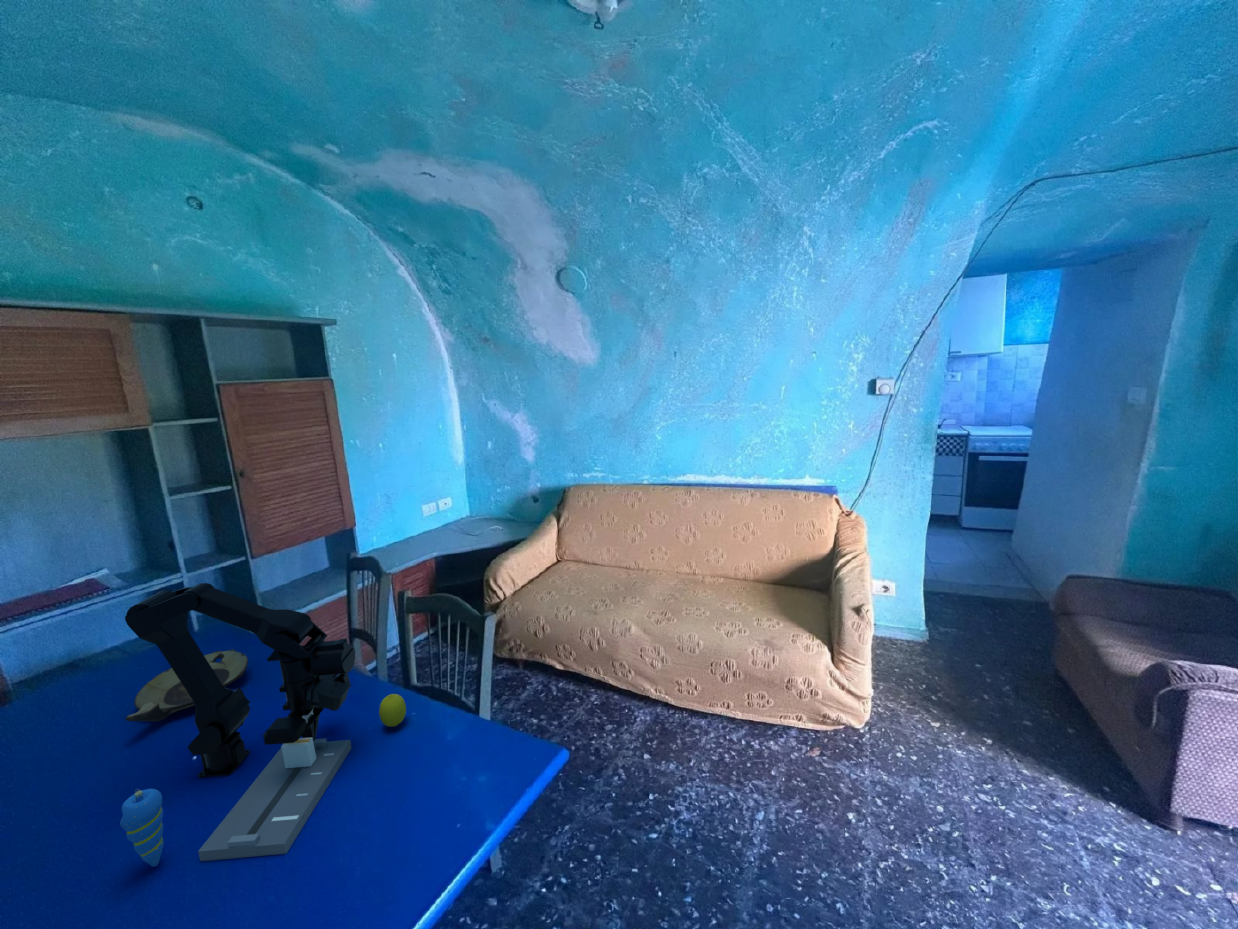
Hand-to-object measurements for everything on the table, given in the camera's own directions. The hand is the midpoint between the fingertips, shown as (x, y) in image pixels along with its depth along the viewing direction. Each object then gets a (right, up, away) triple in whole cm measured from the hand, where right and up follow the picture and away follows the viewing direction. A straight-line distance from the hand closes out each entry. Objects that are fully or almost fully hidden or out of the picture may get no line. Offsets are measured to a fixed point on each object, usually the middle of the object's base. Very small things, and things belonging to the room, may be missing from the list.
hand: (311, 741), depth 106 cm
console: (+1, -5, -10) cm, 11 cm away
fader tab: (0, -2, -4) cm, 5 cm away
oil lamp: (-45, -2, +22) cm, 50 cm away
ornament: (-12, -9, -22) cm, 27 cm away
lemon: (+14, -1, +9) cm, 16 cm away
